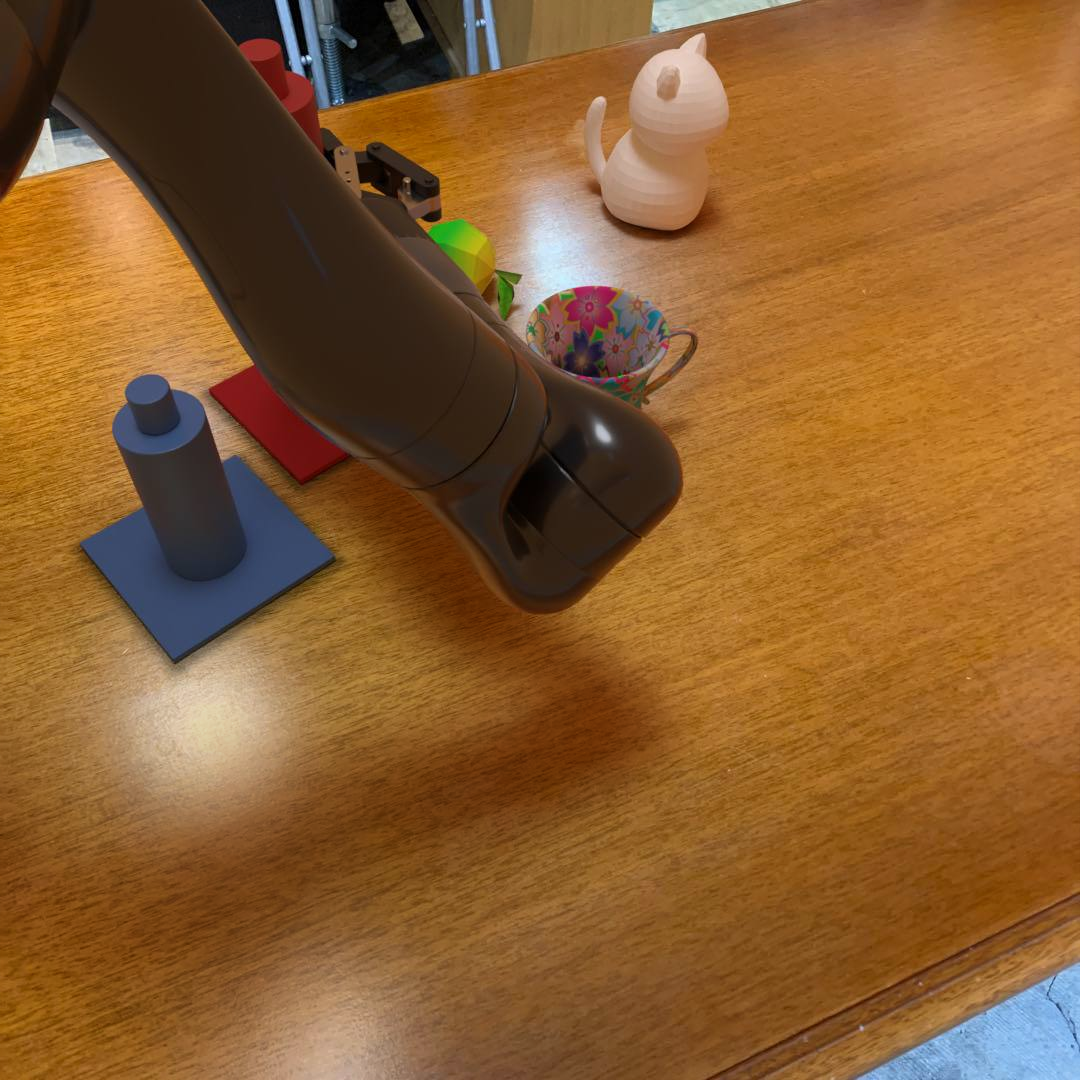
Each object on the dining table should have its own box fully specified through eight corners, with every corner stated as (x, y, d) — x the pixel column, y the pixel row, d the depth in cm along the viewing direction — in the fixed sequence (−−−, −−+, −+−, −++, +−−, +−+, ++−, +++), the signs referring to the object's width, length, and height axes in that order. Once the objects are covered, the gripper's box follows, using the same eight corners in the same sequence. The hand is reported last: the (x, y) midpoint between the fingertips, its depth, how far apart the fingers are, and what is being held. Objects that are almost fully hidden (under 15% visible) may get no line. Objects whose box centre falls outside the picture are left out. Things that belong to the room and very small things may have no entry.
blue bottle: (192, 594, 69) (127, 436, 57) (151, 546, 71) (80, 385, 60) (262, 551, 71) (212, 391, 60) (219, 506, 73) (164, 343, 62)
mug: (549, 506, 74) (553, 394, 66) (508, 414, 80) (507, 300, 71) (709, 466, 77) (732, 353, 69) (659, 379, 82) (674, 265, 74)
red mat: (301, 484, 75) (299, 480, 75) (209, 393, 81) (207, 388, 80) (436, 404, 80) (435, 399, 80) (341, 323, 86) (340, 318, 85)
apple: (411, 205, 83) (521, 230, 81) (440, 216, 89) (542, 239, 87) (393, 297, 85) (500, 324, 83) (422, 302, 91) (522, 327, 89)
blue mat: (175, 663, 66) (172, 659, 66) (81, 547, 72) (78, 542, 71) (336, 560, 71) (335, 555, 71) (237, 458, 77) (235, 454, 76)
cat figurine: (689, 257, 92) (714, 89, 80) (557, 215, 95) (563, 48, 83) (728, 202, 97) (757, 36, 85) (601, 163, 100) (612, -1, 88)
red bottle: (337, 293, 69) (299, 74, 57) (254, 293, 69) (201, 73, 57) (346, 243, 72) (312, 26, 60) (268, 242, 72) (219, 25, 60)
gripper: (510, 199, 57) (362, 59, 66) (255, 292, 52) (132, 128, 61) (511, 311, 63) (375, 169, 71) (283, 405, 58) (167, 240, 67)
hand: (264, 151), depth 66 cm, fingers closed on red bottle, 5 cm apart
